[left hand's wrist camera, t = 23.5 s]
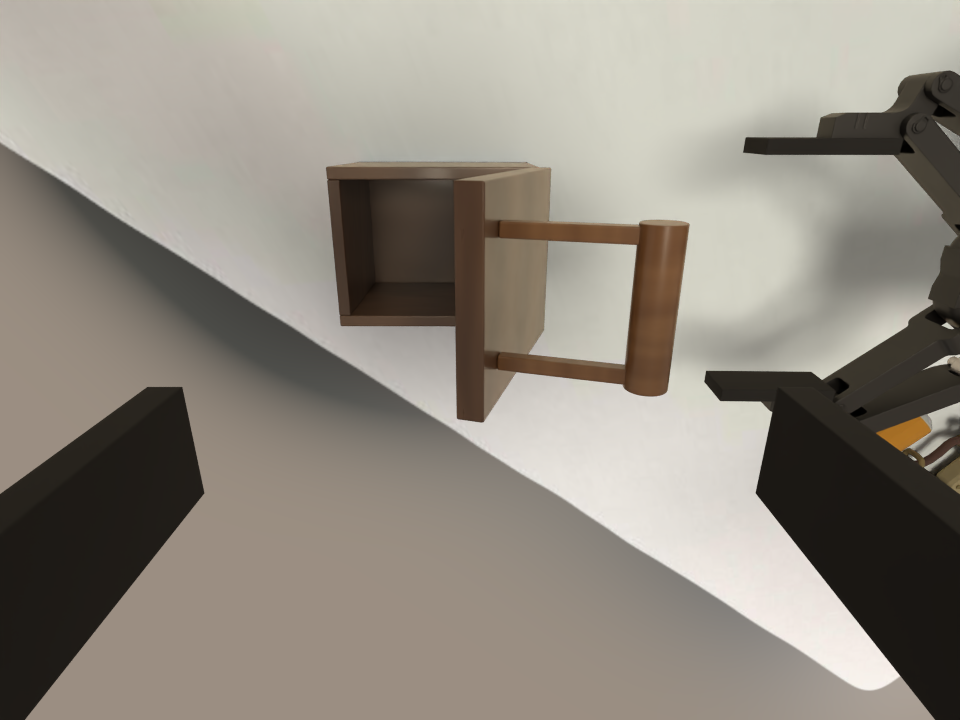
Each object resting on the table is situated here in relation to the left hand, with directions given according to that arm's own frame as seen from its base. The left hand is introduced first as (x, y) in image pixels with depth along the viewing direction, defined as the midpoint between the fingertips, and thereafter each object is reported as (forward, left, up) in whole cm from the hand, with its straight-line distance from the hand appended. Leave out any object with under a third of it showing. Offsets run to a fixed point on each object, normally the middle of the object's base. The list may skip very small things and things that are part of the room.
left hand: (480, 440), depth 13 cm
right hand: (+12, +8, -20) cm, 24 cm away
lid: (+1, +1, -17) cm, 17 cm away
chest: (-2, -2, -34) cm, 35 cm away
